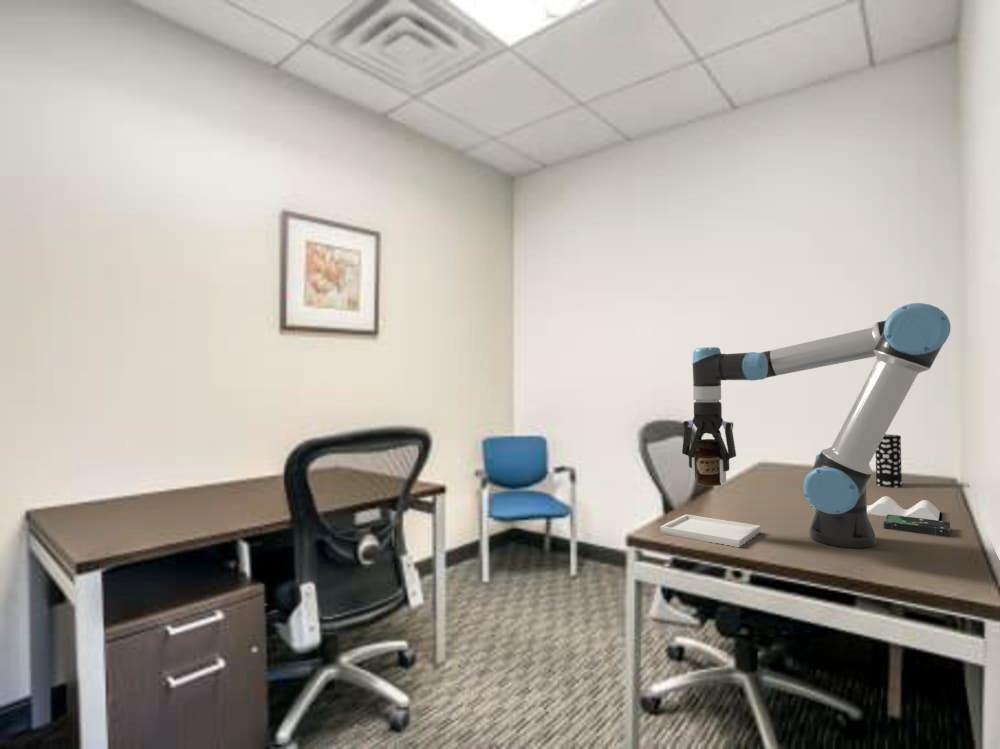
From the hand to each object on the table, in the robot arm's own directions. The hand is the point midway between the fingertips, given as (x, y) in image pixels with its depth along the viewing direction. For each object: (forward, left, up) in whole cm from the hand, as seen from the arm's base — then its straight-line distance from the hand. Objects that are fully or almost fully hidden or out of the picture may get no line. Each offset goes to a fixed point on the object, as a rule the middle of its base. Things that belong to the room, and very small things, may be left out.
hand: (709, 480), depth 158 cm
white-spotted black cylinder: (-30, -109, -15) cm, 114 cm away
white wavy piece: (-32, -58, -16) cm, 68 cm away
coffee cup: (0, 0, -1) cm, 1 cm away
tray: (0, 0, -15) cm, 15 cm away
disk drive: (-44, -40, -16) cm, 62 cm away
